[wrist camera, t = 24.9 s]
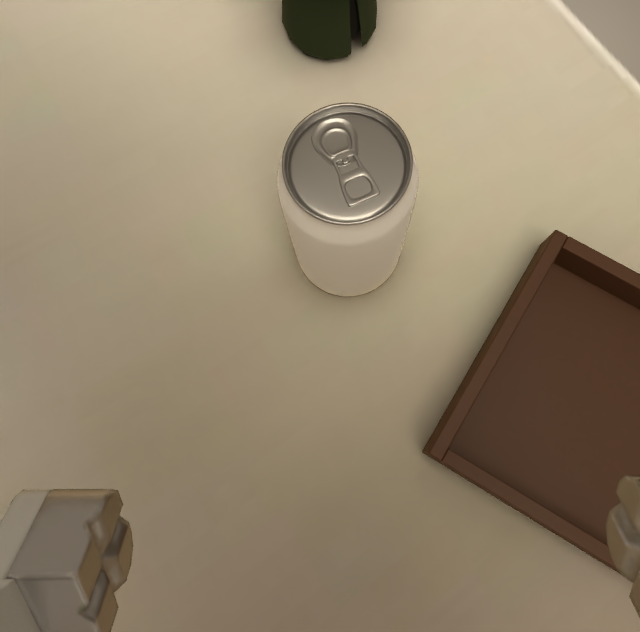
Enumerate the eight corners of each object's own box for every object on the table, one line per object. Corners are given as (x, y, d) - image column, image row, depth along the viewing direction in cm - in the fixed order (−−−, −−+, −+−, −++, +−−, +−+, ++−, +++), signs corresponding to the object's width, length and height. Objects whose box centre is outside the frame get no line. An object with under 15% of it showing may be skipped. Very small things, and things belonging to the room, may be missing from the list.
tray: (421, 451, 35) (428, 453, 32) (540, 244, 37) (556, 228, 34) (708, 627, 32) (741, 645, 30) (818, 394, 34) (859, 391, 32)
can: (373, 183, 38) (384, 70, 26) (417, 272, 37) (449, 196, 25) (280, 223, 38) (248, 128, 26) (321, 315, 37) (307, 258, 25)
